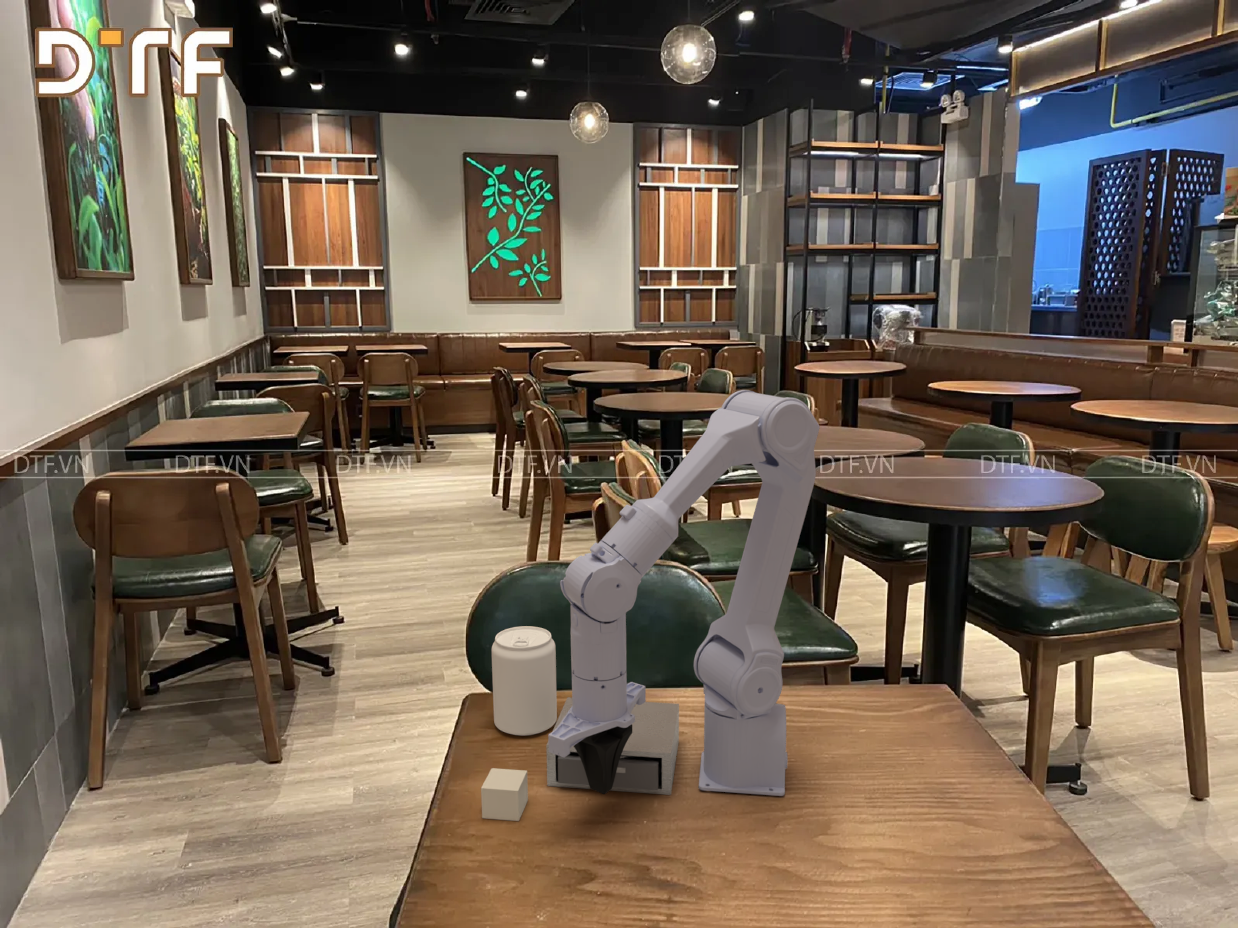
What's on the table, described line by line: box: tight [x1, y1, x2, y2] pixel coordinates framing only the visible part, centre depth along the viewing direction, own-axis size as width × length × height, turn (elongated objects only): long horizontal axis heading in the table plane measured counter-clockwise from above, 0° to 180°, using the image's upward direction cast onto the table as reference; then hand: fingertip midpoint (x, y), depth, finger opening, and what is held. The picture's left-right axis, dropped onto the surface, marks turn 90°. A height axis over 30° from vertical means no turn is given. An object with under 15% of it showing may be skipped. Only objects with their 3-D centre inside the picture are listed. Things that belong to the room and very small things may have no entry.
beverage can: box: [491, 625, 558, 737], centre depth 112 cm, size 8×8×12 cm
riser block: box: [480, 767, 529, 822], centre depth 94 cm, size 4×4×4 cm
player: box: [545, 696, 680, 796], centre depth 103 cm, size 14×12×5 cm
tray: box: [558, 752, 662, 790], centre depth 102 cm, size 11×11×3 cm
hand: (600, 788), depth 93 cm, fingers closed
